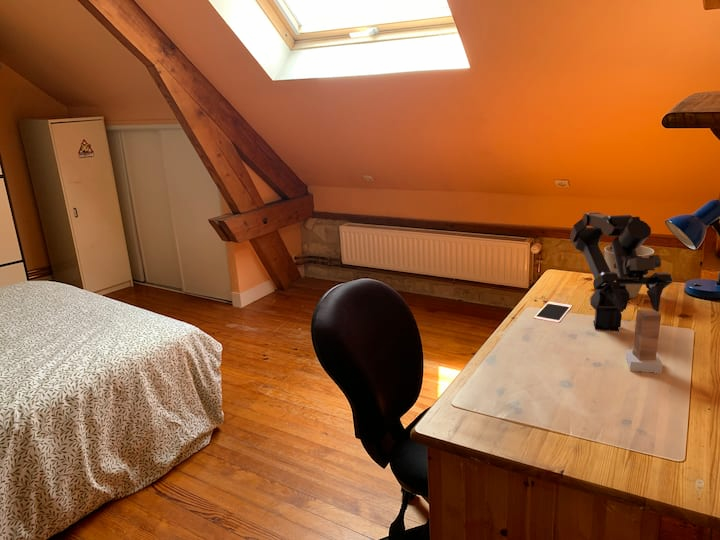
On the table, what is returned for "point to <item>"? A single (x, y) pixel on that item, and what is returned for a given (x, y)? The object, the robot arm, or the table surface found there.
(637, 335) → the walnut block
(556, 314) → the cell phone
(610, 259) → the plant pot
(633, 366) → the base
